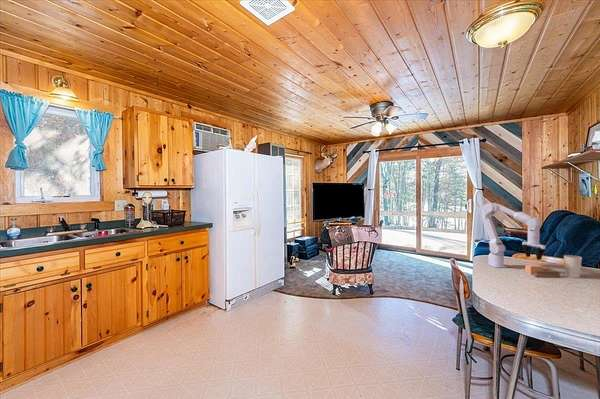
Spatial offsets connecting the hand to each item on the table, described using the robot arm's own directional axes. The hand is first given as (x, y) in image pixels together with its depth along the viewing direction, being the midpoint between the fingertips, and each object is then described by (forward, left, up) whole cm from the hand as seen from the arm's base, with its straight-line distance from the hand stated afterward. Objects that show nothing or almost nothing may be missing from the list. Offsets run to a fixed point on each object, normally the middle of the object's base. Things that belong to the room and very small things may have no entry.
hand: (533, 258), depth 175 cm
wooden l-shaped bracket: (+2, +2, -9) cm, 10 cm away
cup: (+6, +18, -10) cm, 21 cm away
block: (0, 0, -10) cm, 10 cm away
